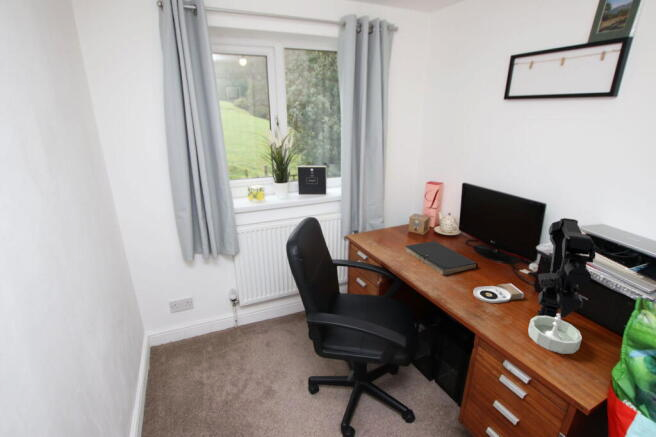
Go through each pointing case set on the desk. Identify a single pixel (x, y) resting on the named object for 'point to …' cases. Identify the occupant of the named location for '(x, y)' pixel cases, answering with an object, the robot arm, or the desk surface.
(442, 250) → the dark grey book
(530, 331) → the bowl
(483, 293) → the record player
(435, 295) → the desk surface
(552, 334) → the chess piece
